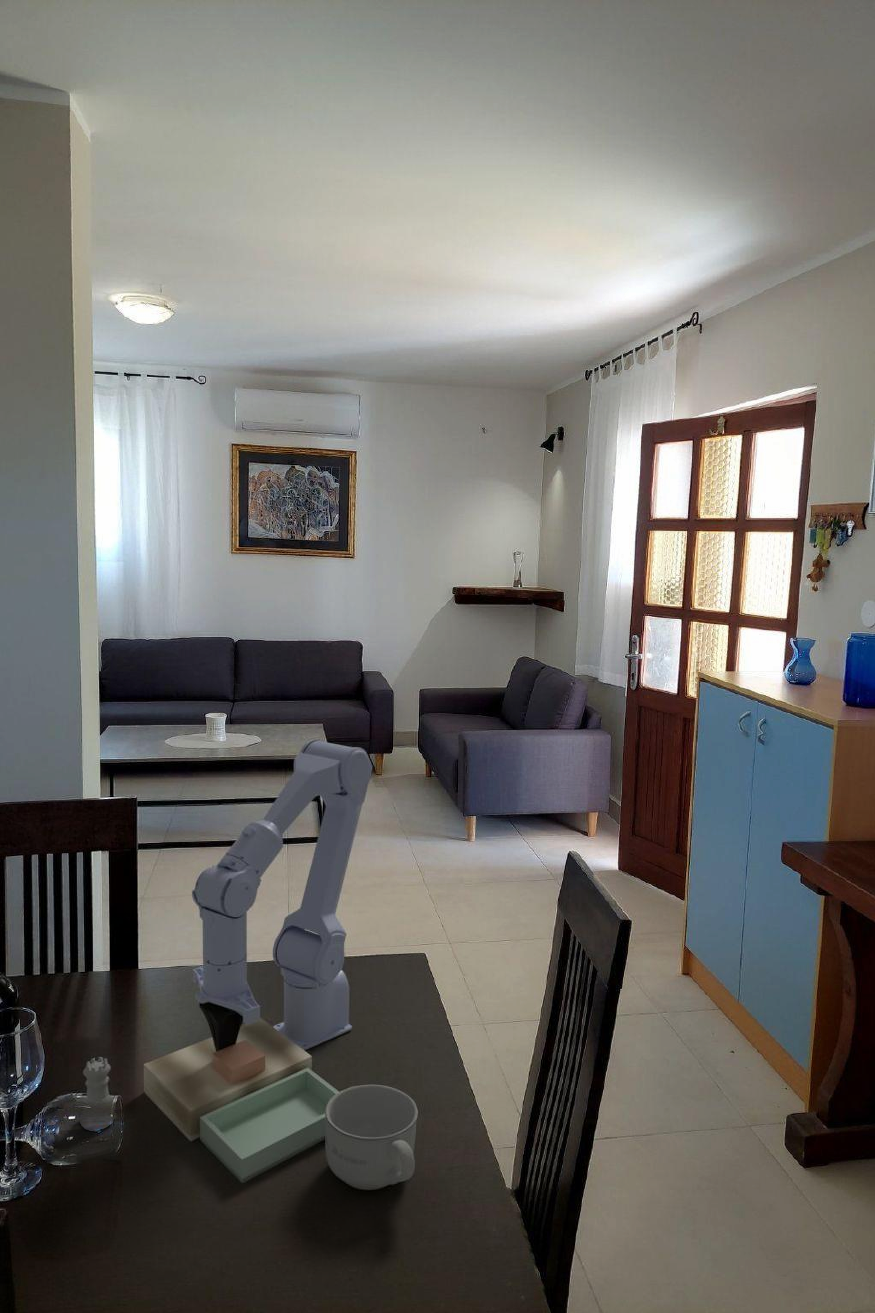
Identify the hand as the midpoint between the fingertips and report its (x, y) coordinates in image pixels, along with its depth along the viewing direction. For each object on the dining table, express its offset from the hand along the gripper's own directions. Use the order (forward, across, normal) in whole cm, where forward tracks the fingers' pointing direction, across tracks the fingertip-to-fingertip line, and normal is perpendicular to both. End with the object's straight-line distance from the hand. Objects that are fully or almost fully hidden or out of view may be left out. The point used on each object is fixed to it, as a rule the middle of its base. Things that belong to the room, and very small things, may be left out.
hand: (225, 1051), depth 119 cm
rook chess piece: (+5, -4, -16) cm, 17 cm away
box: (+5, +13, 0) cm, 14 cm away
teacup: (+5, +27, +4) cm, 28 cm away
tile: (+1, +4, 0) cm, 4 cm away
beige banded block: (+5, +1, 0) cm, 5 cm away
